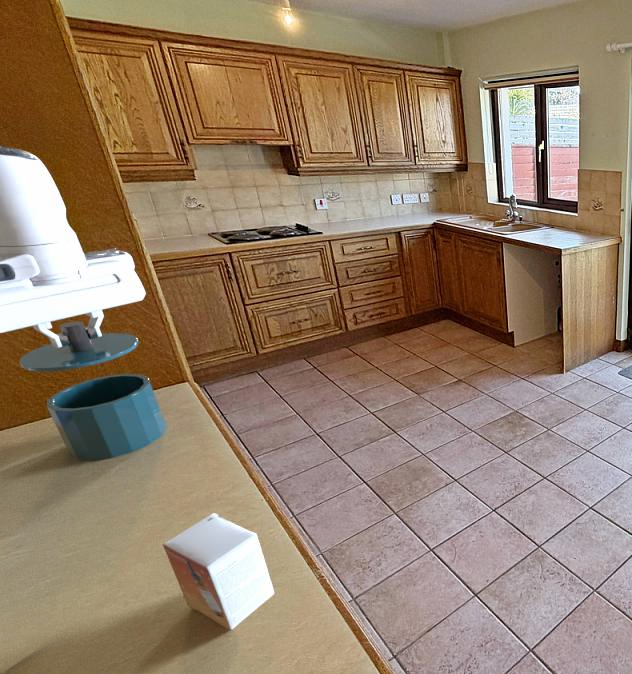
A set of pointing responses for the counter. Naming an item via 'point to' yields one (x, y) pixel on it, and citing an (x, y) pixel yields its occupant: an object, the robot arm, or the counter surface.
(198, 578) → the small box
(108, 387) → the canister
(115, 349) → the lid
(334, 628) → the counter surface
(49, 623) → the counter surface
